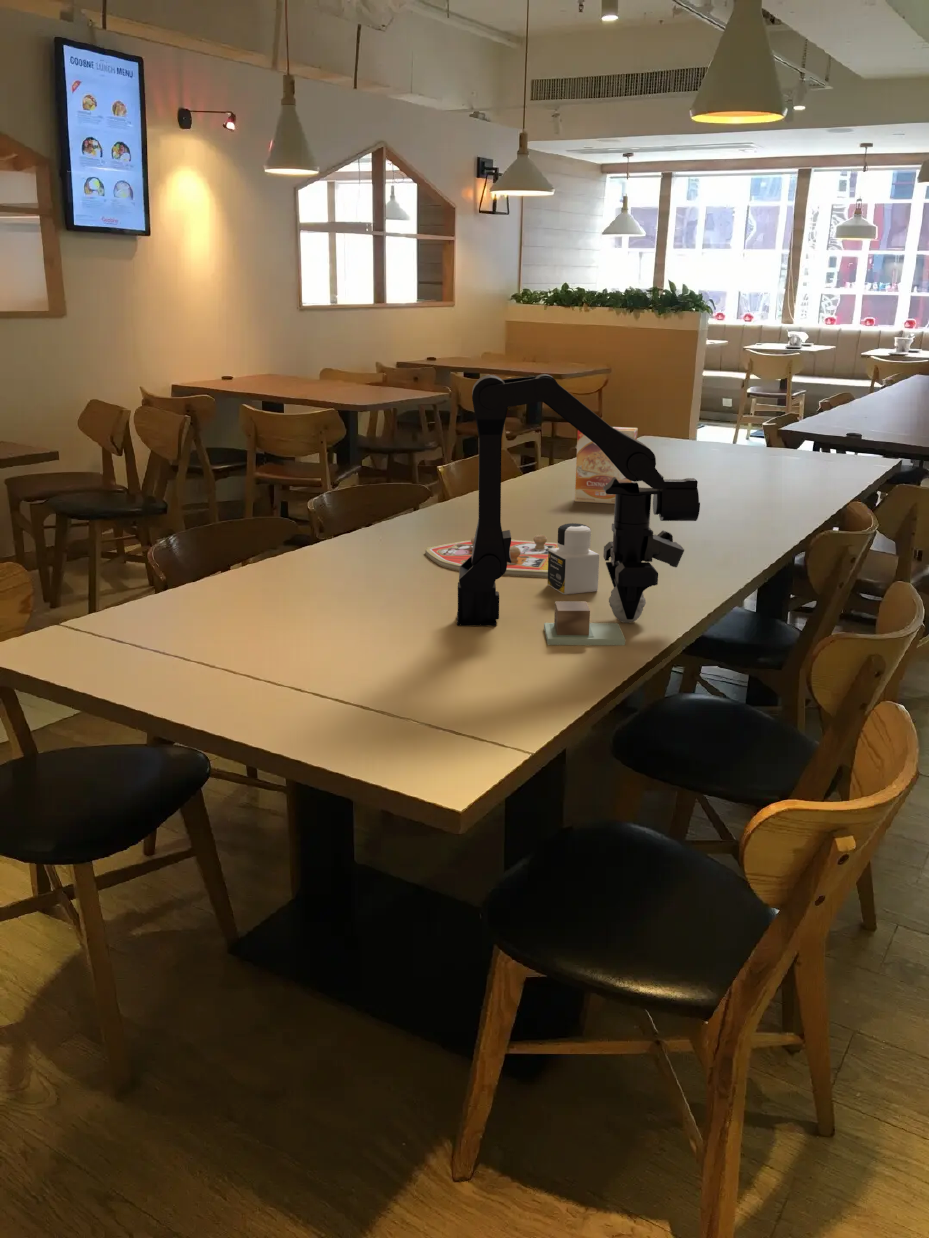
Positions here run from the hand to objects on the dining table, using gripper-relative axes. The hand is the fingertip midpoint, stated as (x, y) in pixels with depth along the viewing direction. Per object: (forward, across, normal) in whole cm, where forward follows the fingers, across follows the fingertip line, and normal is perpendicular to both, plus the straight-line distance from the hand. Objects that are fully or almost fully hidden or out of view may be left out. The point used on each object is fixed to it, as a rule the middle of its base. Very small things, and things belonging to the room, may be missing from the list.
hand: (626, 612), depth 164 cm
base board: (+2, -8, +8) cm, 11 cm away
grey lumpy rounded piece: (+2, 0, 0) cm, 2 cm away
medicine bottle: (+2, +20, +7) cm, 21 cm away
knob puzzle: (+2, +43, +21) cm, 48 cm away
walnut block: (0, -8, +10) cm, 13 cm away
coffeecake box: (+2, +105, -10) cm, 106 cm away
